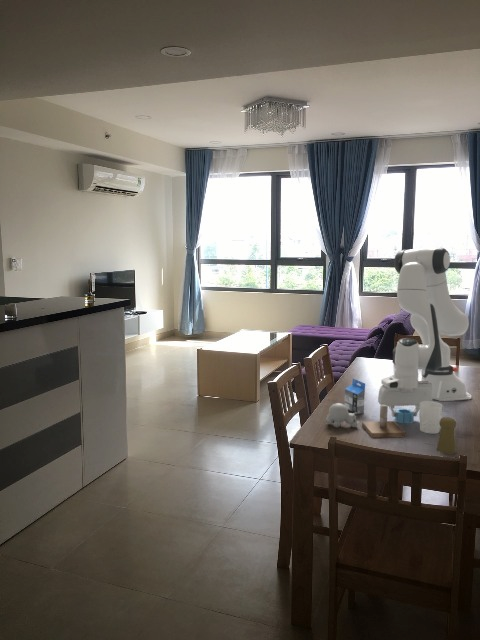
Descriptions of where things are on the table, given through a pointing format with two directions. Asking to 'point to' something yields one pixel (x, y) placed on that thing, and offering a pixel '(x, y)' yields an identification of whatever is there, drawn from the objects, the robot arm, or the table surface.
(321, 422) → the table surface
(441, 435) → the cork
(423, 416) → the white cup
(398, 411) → the ring
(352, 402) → the blue printed box
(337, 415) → the round bodied animal figurine
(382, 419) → the post block
